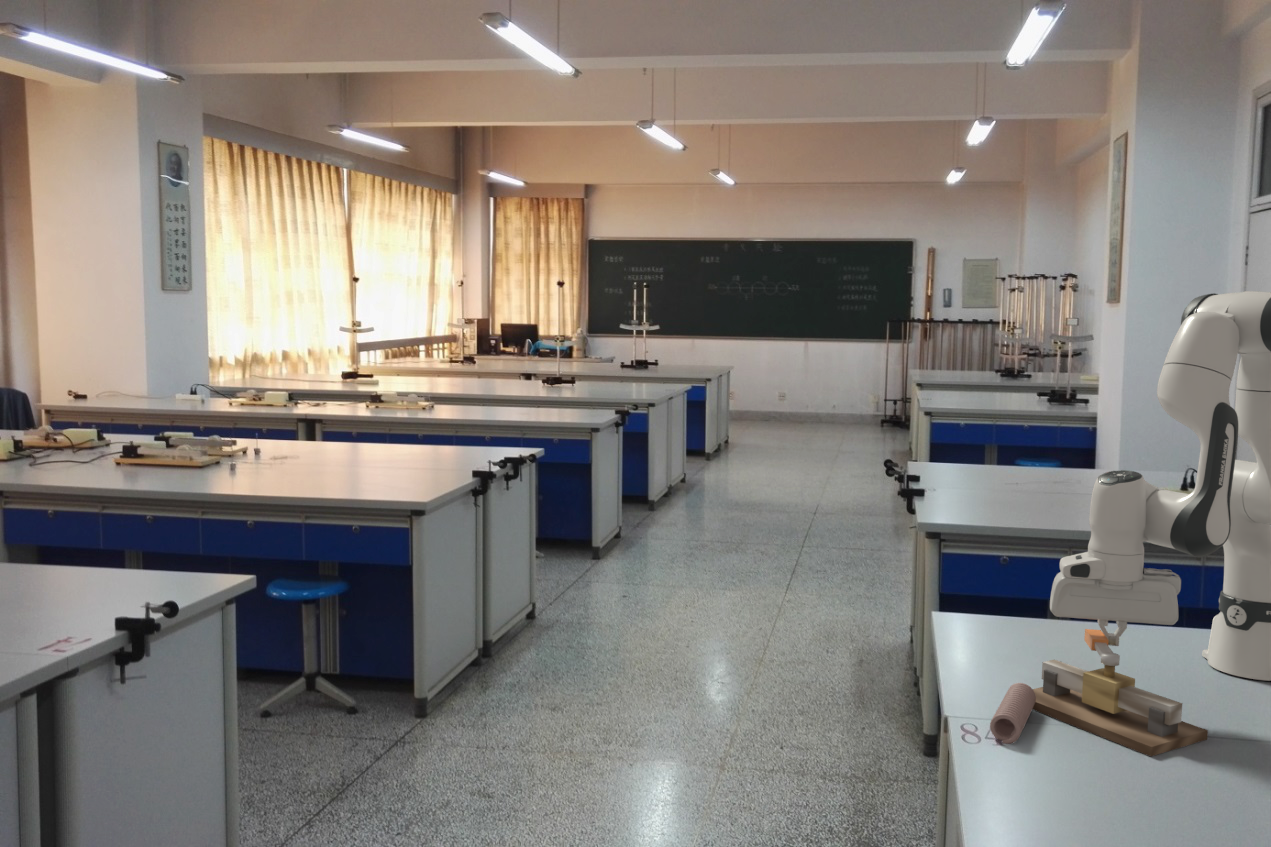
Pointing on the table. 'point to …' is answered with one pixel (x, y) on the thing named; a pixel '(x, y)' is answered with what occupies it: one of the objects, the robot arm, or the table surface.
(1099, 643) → the valve lever
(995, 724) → the coil
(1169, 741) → the valve stand
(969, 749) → the table surface
